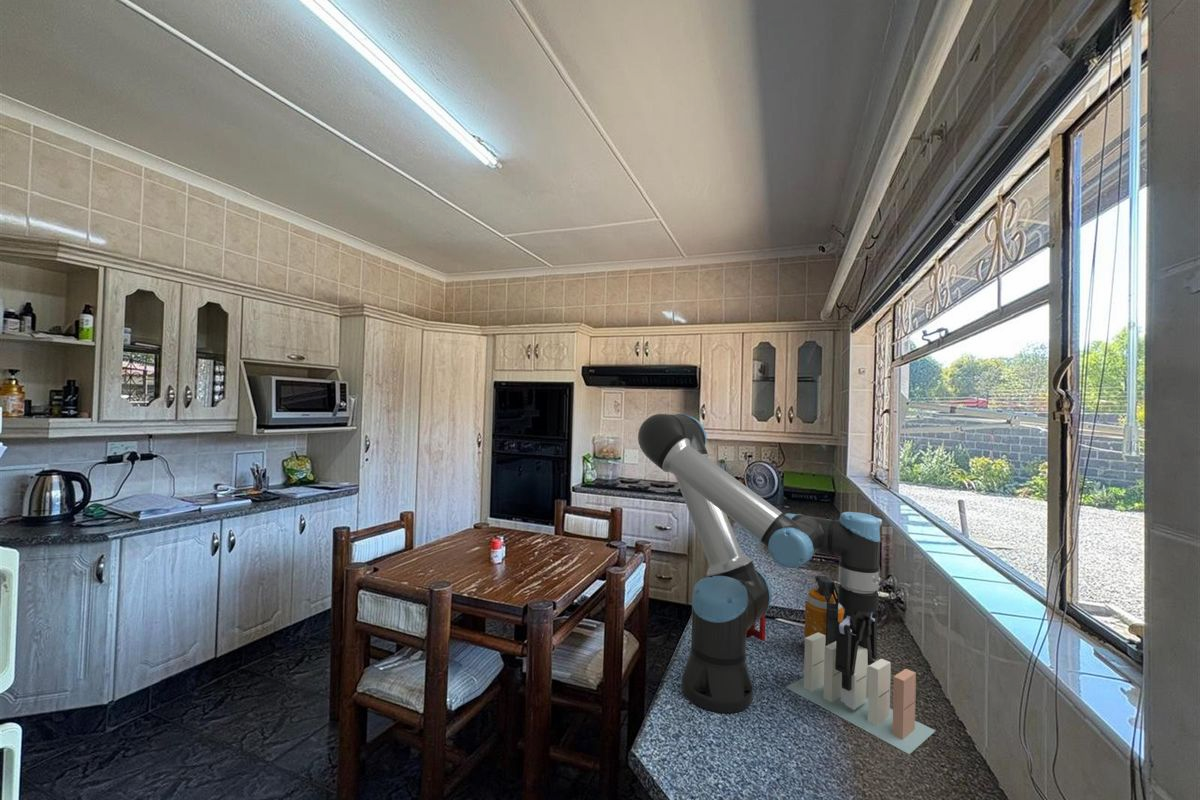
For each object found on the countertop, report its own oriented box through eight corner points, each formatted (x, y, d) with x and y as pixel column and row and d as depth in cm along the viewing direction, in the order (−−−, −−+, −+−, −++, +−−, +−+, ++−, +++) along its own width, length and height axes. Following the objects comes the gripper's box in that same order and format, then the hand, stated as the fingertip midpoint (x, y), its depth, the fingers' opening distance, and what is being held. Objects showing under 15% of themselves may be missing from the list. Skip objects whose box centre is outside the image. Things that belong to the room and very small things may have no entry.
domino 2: (823, 698, 103) (824, 646, 104) (836, 690, 106) (837, 640, 107) (831, 702, 102) (832, 650, 102) (844, 694, 105) (845, 643, 105)
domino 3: (845, 705, 100) (846, 651, 100) (857, 696, 103) (859, 645, 103) (854, 709, 98) (855, 655, 98) (866, 701, 101) (867, 648, 102)
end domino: (892, 734, 92) (893, 676, 92) (904, 724, 95) (905, 668, 96) (902, 739, 91) (904, 680, 91) (914, 729, 94) (916, 672, 94)
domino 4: (867, 721, 96) (868, 665, 96) (880, 712, 99) (881, 658, 99) (877, 726, 94) (878, 669, 95) (889, 717, 98) (890, 662, 98)
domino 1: (803, 687, 107) (804, 637, 107) (816, 680, 110) (817, 632, 111) (811, 691, 106) (812, 641, 106) (824, 684, 109) (825, 635, 109)
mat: (785, 688, 107) (785, 687, 107) (814, 673, 114) (814, 671, 114) (909, 755, 87) (909, 754, 87) (935, 732, 94) (935, 730, 94)
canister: (834, 649, 126) (836, 573, 127) (852, 671, 115) (854, 588, 116) (799, 646, 127) (801, 570, 128) (813, 668, 116) (816, 585, 117)
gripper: (854, 602, 93) (851, 724, 92) (897, 585, 103) (894, 694, 103) (817, 590, 99) (814, 704, 98) (861, 575, 110) (859, 677, 109)
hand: (855, 699), depth 100 cm, fingers closed on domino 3, 5 cm apart
